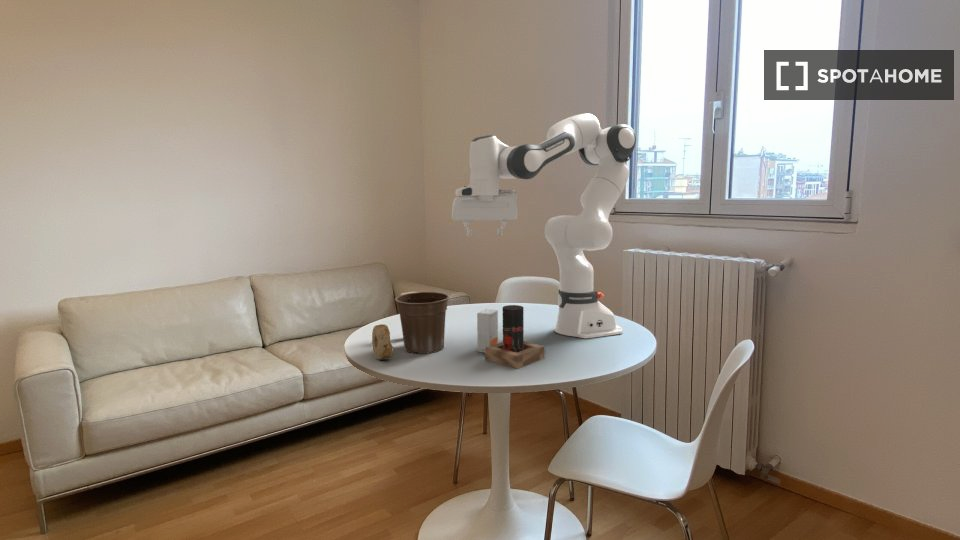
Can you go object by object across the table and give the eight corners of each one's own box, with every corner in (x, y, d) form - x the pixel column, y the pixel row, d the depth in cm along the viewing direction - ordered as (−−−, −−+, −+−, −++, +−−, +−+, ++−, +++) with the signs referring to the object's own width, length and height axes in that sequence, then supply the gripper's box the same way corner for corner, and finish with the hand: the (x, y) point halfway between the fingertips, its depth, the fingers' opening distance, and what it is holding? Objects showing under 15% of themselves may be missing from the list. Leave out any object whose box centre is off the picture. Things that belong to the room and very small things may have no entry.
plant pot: (413, 360, 156) (411, 305, 153) (387, 347, 169) (385, 296, 166) (460, 349, 165) (459, 297, 163) (432, 337, 178) (431, 289, 176)
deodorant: (527, 359, 154) (527, 308, 152) (508, 362, 152) (508, 310, 150) (517, 354, 160) (517, 304, 157) (499, 356, 157) (499, 306, 155)
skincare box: (489, 353, 161) (489, 314, 159) (477, 351, 163) (476, 312, 161) (498, 348, 166) (498, 309, 164) (486, 346, 168) (485, 308, 166)
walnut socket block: (544, 358, 156) (544, 346, 155) (517, 368, 147) (517, 356, 147) (512, 349, 164) (512, 338, 163) (485, 359, 155) (485, 347, 155)
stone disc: (370, 355, 161) (368, 322, 159) (382, 353, 163) (380, 320, 161) (381, 365, 152) (380, 330, 150) (394, 362, 154) (392, 328, 152)
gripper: (515, 189, 170) (515, 233, 172) (450, 190, 166) (451, 235, 168) (520, 189, 163) (520, 235, 166) (452, 190, 160) (453, 237, 162)
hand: (485, 235), depth 167 cm, fingers open, 8 cm apart
